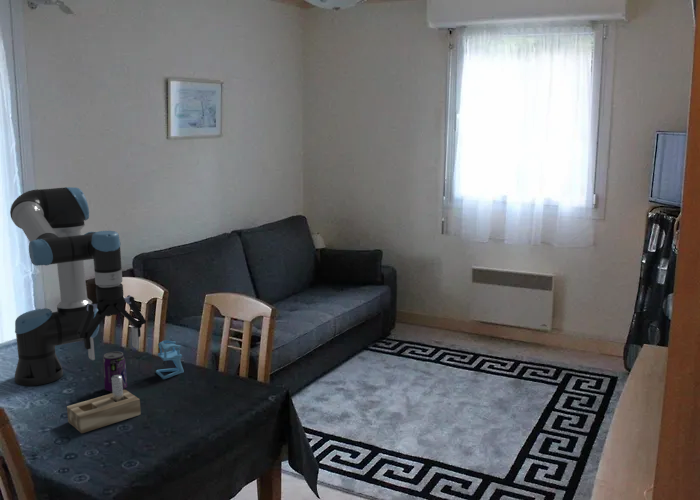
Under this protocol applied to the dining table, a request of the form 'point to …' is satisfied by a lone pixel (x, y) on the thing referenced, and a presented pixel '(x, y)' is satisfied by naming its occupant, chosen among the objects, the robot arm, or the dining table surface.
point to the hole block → (102, 411)
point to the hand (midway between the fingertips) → (114, 353)
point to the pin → (117, 388)
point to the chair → (170, 358)
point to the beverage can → (114, 369)
